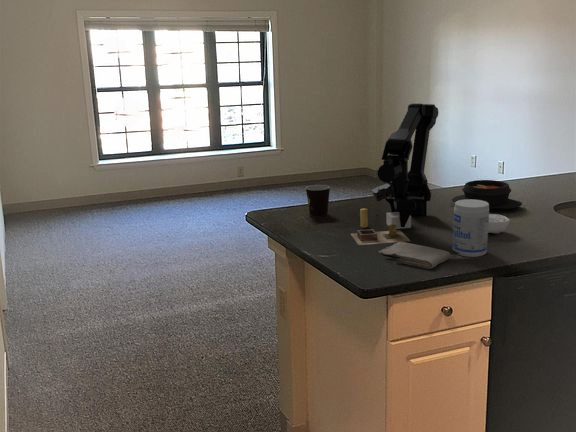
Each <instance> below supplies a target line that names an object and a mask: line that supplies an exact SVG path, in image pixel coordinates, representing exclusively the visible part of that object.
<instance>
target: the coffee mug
mask: <svg viewBox="0 0 576 432" xmlns="http://www.w3.org/2000/svg"><path fill="white" fill-rule="evenodd" d="M305 193H306V198H307V204H308V212H309V216H310V217H314V218H315V217H316V218H317V217H318V218H321V217H320V216H322V217H325V216H328V211H329V201H330V200H329V199H330V186H329V185H326V184H313V185H308V186H306V187H305Z"/></svg>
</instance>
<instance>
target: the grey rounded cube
mask: <svg viewBox="0 0 576 432" xmlns="http://www.w3.org/2000/svg"><path fill="white" fill-rule="evenodd" d="M385 214H386V226H388V227H389V225H396V230H400V229H410V228H411V229H412V217H411V216H410V217H409V219H408V221H407V223H406V225H405V227H401V225H400V219H399V213H398V212H391V211H390V212H386V213H385Z"/></svg>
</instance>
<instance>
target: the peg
mask: <svg viewBox="0 0 576 432" xmlns="http://www.w3.org/2000/svg"><path fill="white" fill-rule="evenodd" d="M359 210H360V211H359V215H360V216H359V217H360V218H359V219H360V221H359V224H360V226H359V227H360V228H364V229H365V228H368V226H369V220H368V219H369V215H368V212H369V209H368V208H364V207H363V208H360V209H359Z"/></svg>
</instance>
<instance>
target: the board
mask: <svg viewBox="0 0 576 432" xmlns="http://www.w3.org/2000/svg"><path fill="white" fill-rule="evenodd" d="M350 235H351V237H352V239H354V242H356V244H357V245H358V246H366V245H367V246H368V245H379V244H392V243H393V244H394V243H397V242H406V243H408V242H411V240H410V239H409V238H408V236H406V234H404V233H403V231H402V230H400V229H396V225H389V226H388V230H385V231H376V230H375V229H373V228H370V229H369V228H368V229H358V230H356V233H350Z"/></svg>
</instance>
